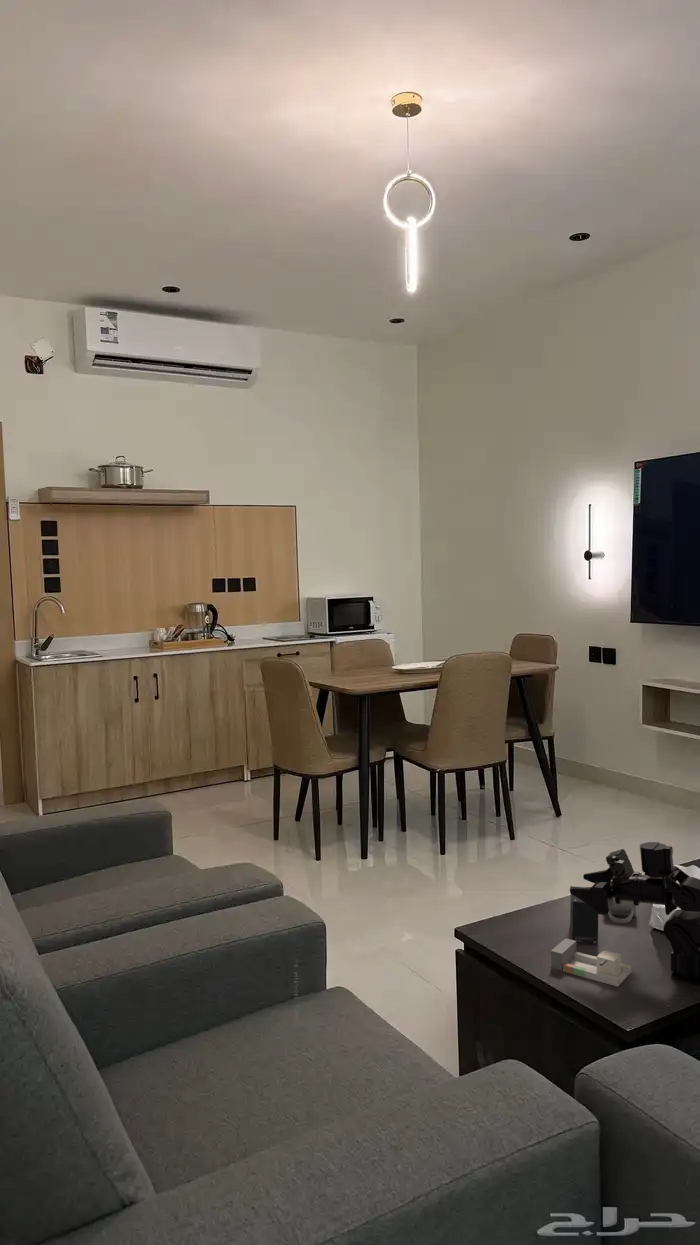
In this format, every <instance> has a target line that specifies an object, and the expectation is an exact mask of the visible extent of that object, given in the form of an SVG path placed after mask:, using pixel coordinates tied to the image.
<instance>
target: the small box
mask: <svg viewBox="0 0 700 1245" xmlns="http://www.w3.org/2000/svg"><path fill="white" fill-rule="evenodd" d="M580 887H581V886H573V885H570V888H580ZM570 888H569V889H570ZM569 893H570V892H569ZM569 896H570V903H569V904H570V910H569V912H570V913H569V915H570V916H569V918H570V919H569V929H570V930H569V931H570V940H574V941H576V945H577V944H578V945H592V946H598V945H599V914H597V913H596V911H594V908H592V907H591V906H590V905H588V904H587V903H585V902H584V901H582V900H581V899H579V898H577V897H576V896H574V895H572V894H571V893H570V895H569Z"/></svg>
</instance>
